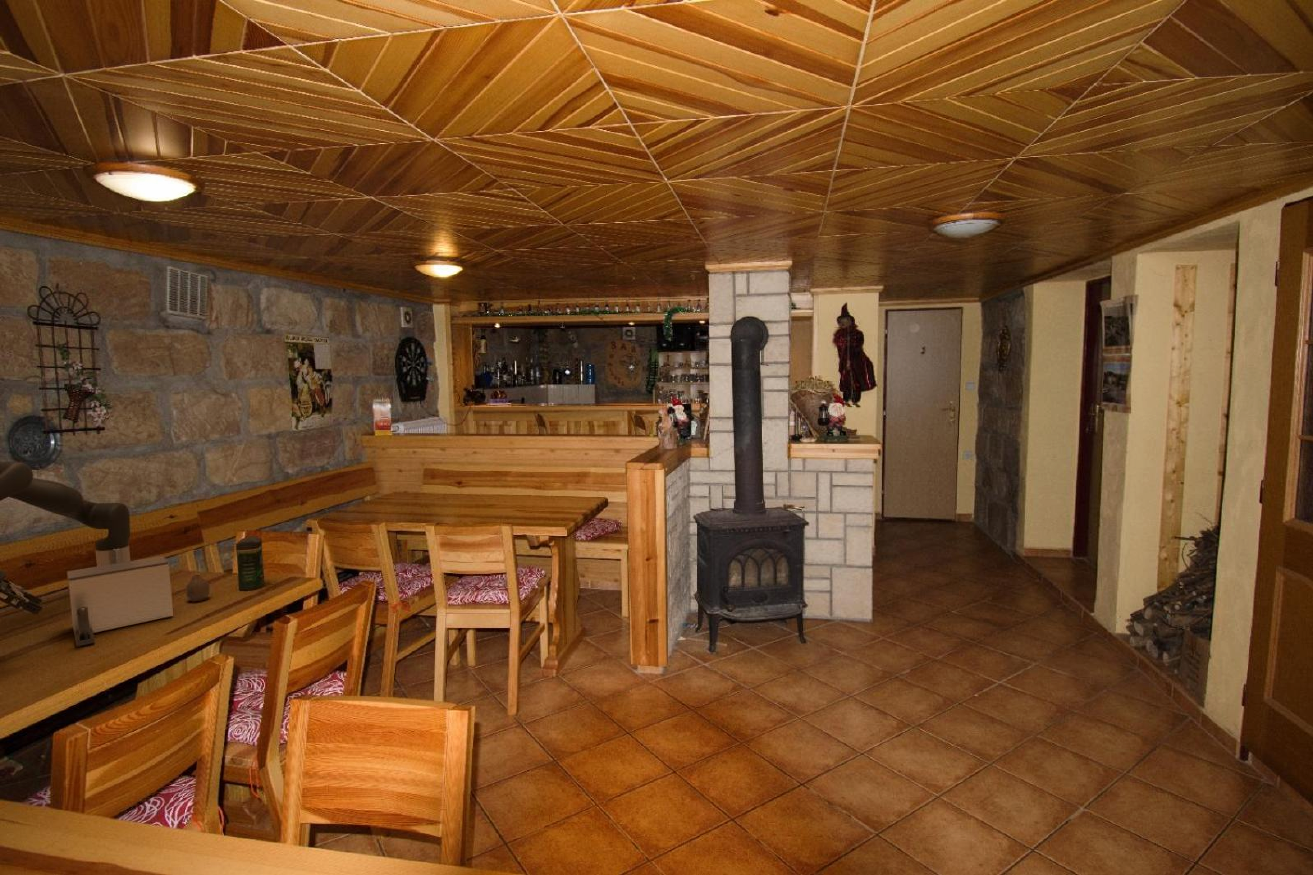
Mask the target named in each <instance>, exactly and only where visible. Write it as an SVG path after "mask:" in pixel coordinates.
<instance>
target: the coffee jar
mask: <svg viewBox="0 0 1313 875" xmlns="http://www.w3.org/2000/svg"><path fill="white" fill-rule="evenodd" d="M235 552H236V562H237V563H236V564H237V584H238V589H239V590H243V591H244V590H245V591H251V590H254V589H259V588H261V587H263V585H264V584H265V572H264V571H265V570H264V557H263V556H264V555H263V554H264V553H263V541H262V538H261V537H260V536H258V535H252V536H245V537H244V538H241V539H240V540H238V541H237V542H236V543H235Z"/></svg>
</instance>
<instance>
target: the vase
mask: <svg viewBox="0 0 1313 875" xmlns="http://www.w3.org/2000/svg"><path fill="white" fill-rule="evenodd" d="M210 592H211V588H210V584H209V582H208V581H207V580H206V579H205V578H204V577H203V576H202V575H201V574H194V575H192V577H191V579H190V580H189V581H188V582H187V584H186V588H185V595H186V598H187V600H188V601H190V602H193V603H196V602H197V601H198V602H202V600H203V601H205V600H206V599H207V598H208V597H209V595H210Z"/></svg>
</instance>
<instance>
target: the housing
mask: <svg viewBox="0 0 1313 875" xmlns="http://www.w3.org/2000/svg"><path fill="white" fill-rule="evenodd" d="M163 564H169V562H168V560H167V558H165V556H164V555H161V556H155V557H154V556H153V557H148V558H143V559H136V560H130V561H129V562H122V563H116V564H110V565H104V566H98V567H97V566H93V567H88V568H87V567H86V568H80V569H74V570H68V571H66V574H67V582H68V592H69V594H68V595H69V601H70V611H71V612H70V613H71V620H72V621H71V622H72V623H71V624H72V629H73V631H74V625H73V615H72V605H71V596H70V586H69V580H75V579H81V578H87V577H93V576H99V575H104V574H110V573H116V572H122V571H128V570H134V569H140V568H146V567H152V566H157V565H163ZM73 634H74V633H73ZM74 637H75V634H74Z"/></svg>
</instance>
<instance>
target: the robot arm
mask: <svg viewBox="0 0 1313 875" xmlns="http://www.w3.org/2000/svg"><path fill="white" fill-rule="evenodd" d="M8 498H11V499H14V500H17V501H20V502H23V503H25V504H27V505H30V506H34V507H36V508H38V509H42V510H44V511H47V512H49V513H52V514H56V515H60V516H62V517H65V518H69V519H72V520H75V521H77V522H79V523H81V524H83V525H84V526H87V527H89V528H92V529H95V530H107V531H108V532H107V536H105V537H104V538H100V539H98V540H97V541H96V542H94V543H95V544H94V548H95V557H96V567H98V566H104V565H110V564H116V563H122V562H129V561H131V555H130V554H131V553H130V552H131V551H130V537H131V521H130V520H131V519H130V517H131V516H130V515H131V514H130V510H129V507H128V506H127V505H126V504H124V503H122V502H92V501H89V500H86V499H84V496H83V495H82V492H80V491H79V490H78V489H76V488H74V487H72V486H68V485H67V484H64V483H61V482H58V481H55V480H49V479H48V480H47V479H43V478H42V479H41V478H34V473H33V470H32V468H31V467H30V466H29V465H28V464H27V463H24V462H19V461H0V502H1V501H3V500H4V499H5V500H6V499H8ZM6 577H7V573H6V572H5V571H3V570H1V569H0V602H2V603H4V604H6V605H8V606H11V607H12V608H14V609H16V610H19V609H23V610H25V611H27V612H29V613H31V614H33V615H38V614H39V613H40V612H42V610H43V607H42V605H40V604H41V603H42V602H43V600H42V598H40V597H38V596H37V595H36V596H35V595H34V594H33V593H32V594H31V593H30V592H29V590H28V589H27V588H25V587H22V586H21V585H19V584H17V583H14V582H12V581H11V580H8V579H6Z"/></svg>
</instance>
